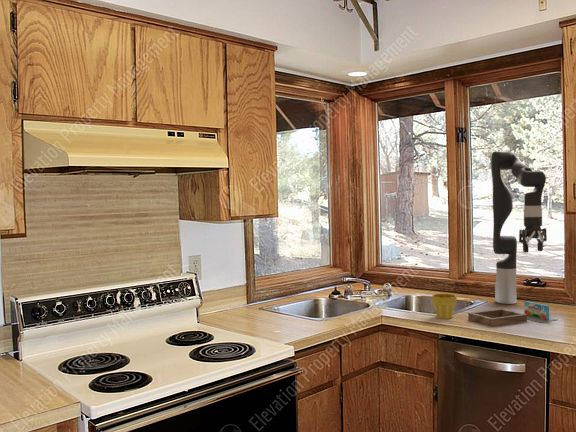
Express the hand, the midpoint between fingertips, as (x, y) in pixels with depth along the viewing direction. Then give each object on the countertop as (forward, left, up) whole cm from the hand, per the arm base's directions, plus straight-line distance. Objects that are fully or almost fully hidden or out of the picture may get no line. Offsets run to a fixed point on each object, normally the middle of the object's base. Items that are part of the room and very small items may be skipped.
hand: (532, 251), depth 249 cm
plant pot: (-12, -40, -28) cm, 50 cm away
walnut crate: (+4, -25, -28) cm, 38 cm away
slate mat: (+8, -7, -28) cm, 30 cm away
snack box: (+8, -7, -28) cm, 30 cm away
